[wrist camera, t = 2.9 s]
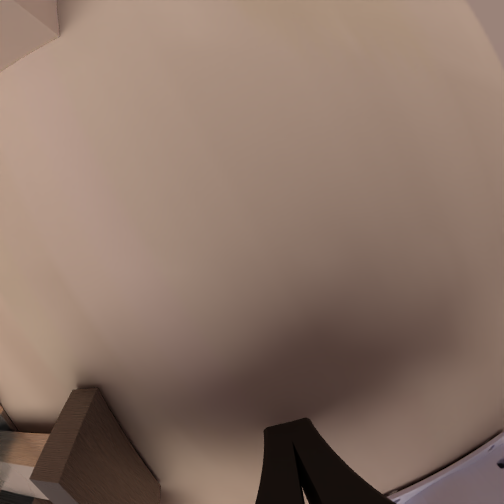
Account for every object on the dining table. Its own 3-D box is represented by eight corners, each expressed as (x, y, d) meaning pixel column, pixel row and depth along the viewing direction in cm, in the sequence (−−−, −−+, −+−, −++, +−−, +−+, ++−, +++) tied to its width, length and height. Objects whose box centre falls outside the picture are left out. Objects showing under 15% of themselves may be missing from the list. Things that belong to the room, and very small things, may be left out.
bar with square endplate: (88, 370, 8) (42, 464, 5) (160, 486, 10) (155, 565, 6) (-41, 378, 8) (-88, 434, 4) (32, 479, 10) (10, 536, 6)
